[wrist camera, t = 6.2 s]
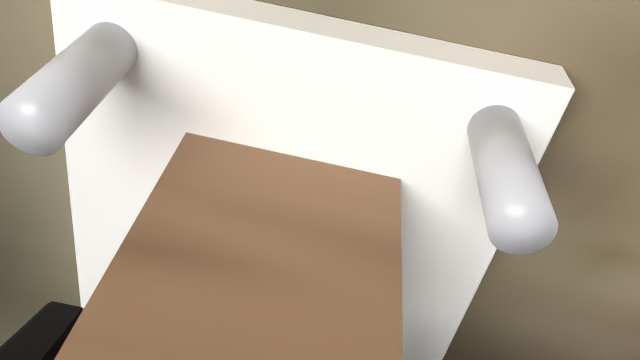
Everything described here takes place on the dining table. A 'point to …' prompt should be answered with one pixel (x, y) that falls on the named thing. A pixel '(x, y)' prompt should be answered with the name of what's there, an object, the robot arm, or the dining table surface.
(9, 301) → the dining table surface
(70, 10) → the standoff plate
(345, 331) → the walnut block
